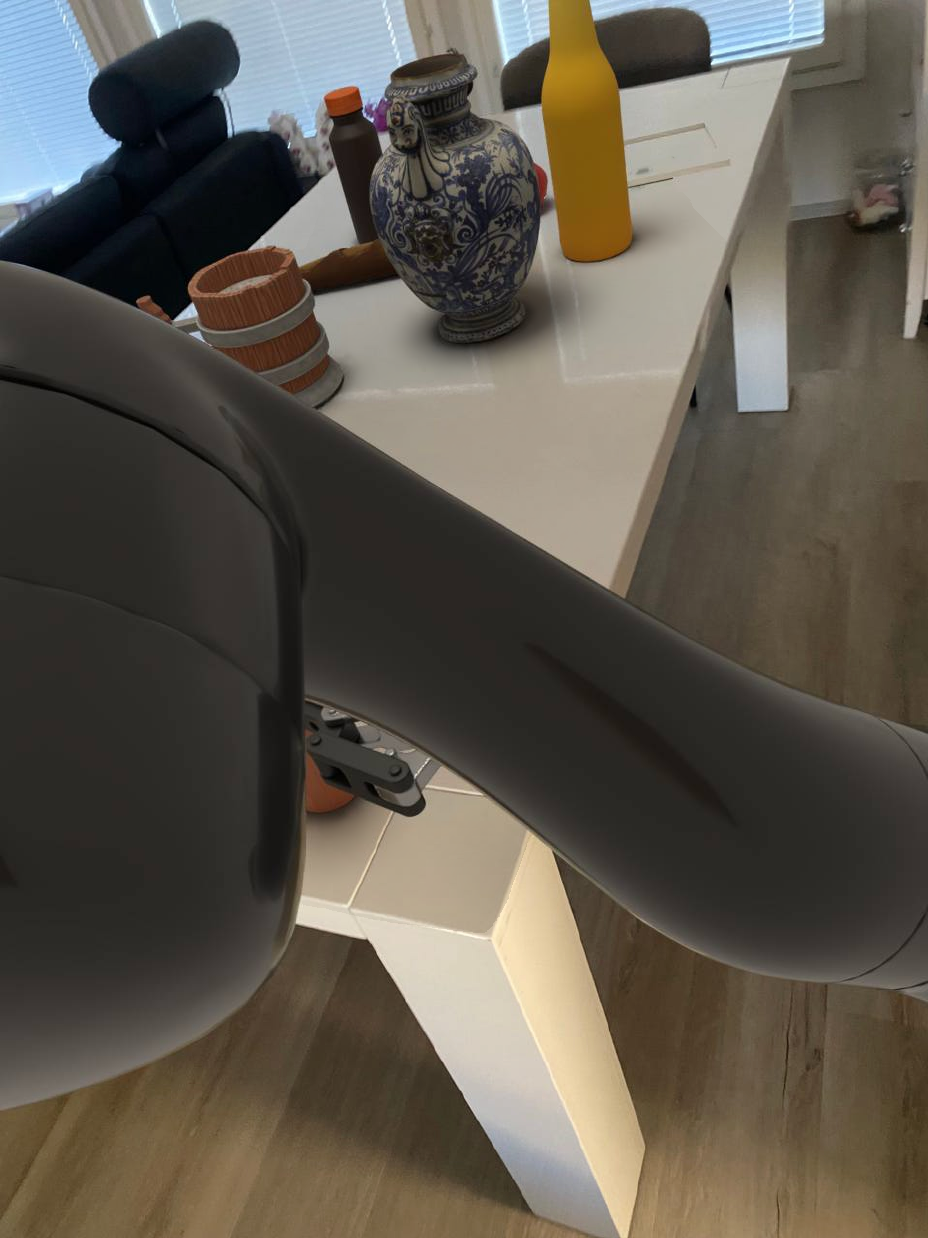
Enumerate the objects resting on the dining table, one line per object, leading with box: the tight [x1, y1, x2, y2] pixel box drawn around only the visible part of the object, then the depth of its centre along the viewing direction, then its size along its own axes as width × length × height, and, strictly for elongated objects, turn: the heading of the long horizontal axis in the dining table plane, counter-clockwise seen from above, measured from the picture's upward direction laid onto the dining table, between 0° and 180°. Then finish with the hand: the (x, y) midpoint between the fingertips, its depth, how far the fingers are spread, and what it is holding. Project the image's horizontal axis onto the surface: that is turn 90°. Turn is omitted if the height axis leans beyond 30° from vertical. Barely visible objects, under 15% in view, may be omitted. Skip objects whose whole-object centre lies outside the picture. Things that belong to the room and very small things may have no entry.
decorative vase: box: [369, 46, 542, 344], centre depth 105 cm, size 21×19×28 cm
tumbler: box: [306, 730, 356, 813], centre depth 64 cm, size 6×6×11 cm
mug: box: [136, 245, 344, 409], centre depth 107 cm, size 14×19×15 cm
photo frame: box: [624, 123, 731, 188], centre depth 141 cm, size 15×1×18 cm
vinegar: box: [323, 85, 384, 245], centre depth 136 cm, size 7×7×20 cm
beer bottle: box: [540, 0, 633, 263], centre depth 114 cm, size 9×9×29 cm
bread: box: [298, 239, 399, 293], centre depth 130 cm, size 38×5×5 cm, turn 91°
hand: (342, 639), depth 50 cm, fingers open, 8 cm apart
